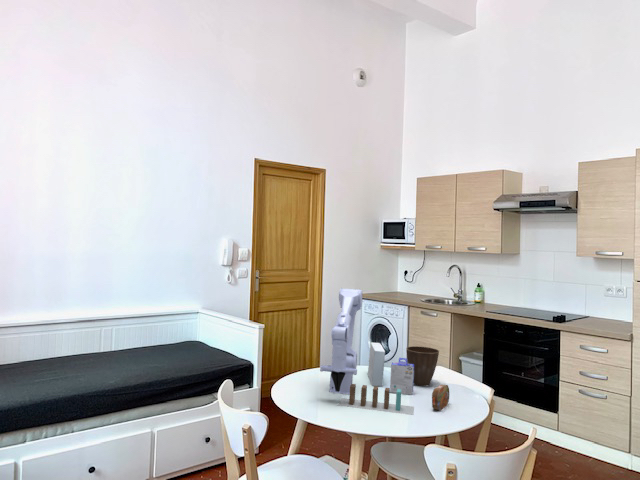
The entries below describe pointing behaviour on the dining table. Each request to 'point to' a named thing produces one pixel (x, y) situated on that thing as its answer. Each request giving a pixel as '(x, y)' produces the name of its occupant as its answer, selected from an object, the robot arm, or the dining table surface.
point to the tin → (440, 397)
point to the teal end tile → (398, 399)
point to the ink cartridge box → (402, 377)
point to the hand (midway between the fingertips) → (337, 390)
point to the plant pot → (422, 363)
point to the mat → (379, 407)
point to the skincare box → (376, 364)
